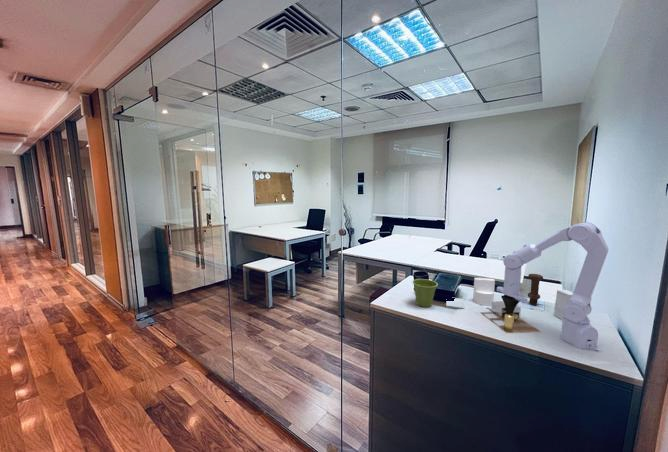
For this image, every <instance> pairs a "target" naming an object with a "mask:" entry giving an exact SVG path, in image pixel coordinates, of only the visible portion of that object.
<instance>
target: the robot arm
mask: <svg viewBox="0 0 668 452" xmlns="http://www.w3.org/2000/svg"><path fill="white" fill-rule="evenodd" d="M602 233H603V232H602V230H601V229H600V228H598V227H597V225H595V224H594V223H592V222H588V221H585V222H579V223H575V224H573V225H571V226H568V227H566V228H563V229H561V230H559V231H556V232H555V233H553V234H551V235H549V236H548V237H546V238H544V239H543V240H542V241H539V242H538V243H536V244H535V243H529V244H528V243H526V244H523V247H521V248H520V249H518V250H514V251H512V254H506V256H505V257H504V258H503V265H504V266H505V268H504V276H503V277H504V279H503V286H497V287H496V292H499V293H501V294H503V295H501V299H502V301H504V304H505V308H506V313H508V314H513V312H514V309H515V307H516V306H518V304H519V303H521V304H528V298H526V297H525V296H524V295H523V294H522V292H520V291H521V277H522V267H523V266H524V265H525V264H527V263H530V262H532V261H533V260H536V259H537V258H540V257H541V256H542V252H543V251H545V250H546V249H549V248H551V247H552V246H555V245H557V244H559V243H561V242H571V241H574V242H575V243H577V244H578V245H580V246H581V247H582V248H583V249H584V250H585V251H586V252H587V253H586V256H585V258H584V261H583V263H582V267H581V270H580V273H579V275H578V279H577V282H576V285H575V287H574V290H573V295H572V296H571V298H570V300H569V303H568V304H567V305H565V306H564V307H563V309H562V312H563V320H562V323H561V332H560V333H561V334H560V339H562V340H563V341H565V342H567V343H569V344H571V345H573V346H574V347H577V348H578V349H580V350H586V349H588V350H590V349H591V350H593V351H595V352H596V351H599V348H598V339H599V332H598V330H597V329H596V328H595V327H594V326H592V325H591V320H590V318H589V317H588V316H589V315H590V314H591V313H592V306H591V302H592V295H593V293H594V291H595V289H596V286H597V282H598V280H599V277H600V274H601V271H602V269H603V267H604V263H605V261H606V258H607V256H608V253H609V246H608V245H607V241H606V240H605V238H604V236H603V234H602Z"/></svg>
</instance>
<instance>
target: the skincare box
mask: <svg viewBox="0 0 668 452" xmlns="http://www.w3.org/2000/svg"><path fill="white" fill-rule="evenodd" d="M556 290H557V291H556V295H555V296H556V298H555V303H554V310H553V316H555V317H556V318H558V319H559V320H562V321H563V312H562V309H563V307H564V306H565V305H567V304H568V303H569V300H570V298H571V296H572V295H573V292H574V291H573V292H572V291H570V290H568V289H556Z"/></svg>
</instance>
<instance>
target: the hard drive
mask: <svg viewBox="0 0 668 452" xmlns="http://www.w3.org/2000/svg"><path fill="white" fill-rule="evenodd" d="M454 298H455V299H454V301H446V300H445V301H446V302H445V308H447V309H453V310H465V309H466V308H465V299H464V298H460V297H459V298H457V297H454Z"/></svg>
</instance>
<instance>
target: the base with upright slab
mask: <svg viewBox="0 0 668 452" xmlns="http://www.w3.org/2000/svg"><path fill="white" fill-rule="evenodd" d="M473 281H474V282H473V294H472V295H473V297H472V302H474V303H475V304H477V305H480V306H485V307H487V306H488V307H490V306H492V302H495V300H494V298H495V297H494V296H495V285H496V279H494V278H485V277H484V278H483V277H474V279H473Z"/></svg>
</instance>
